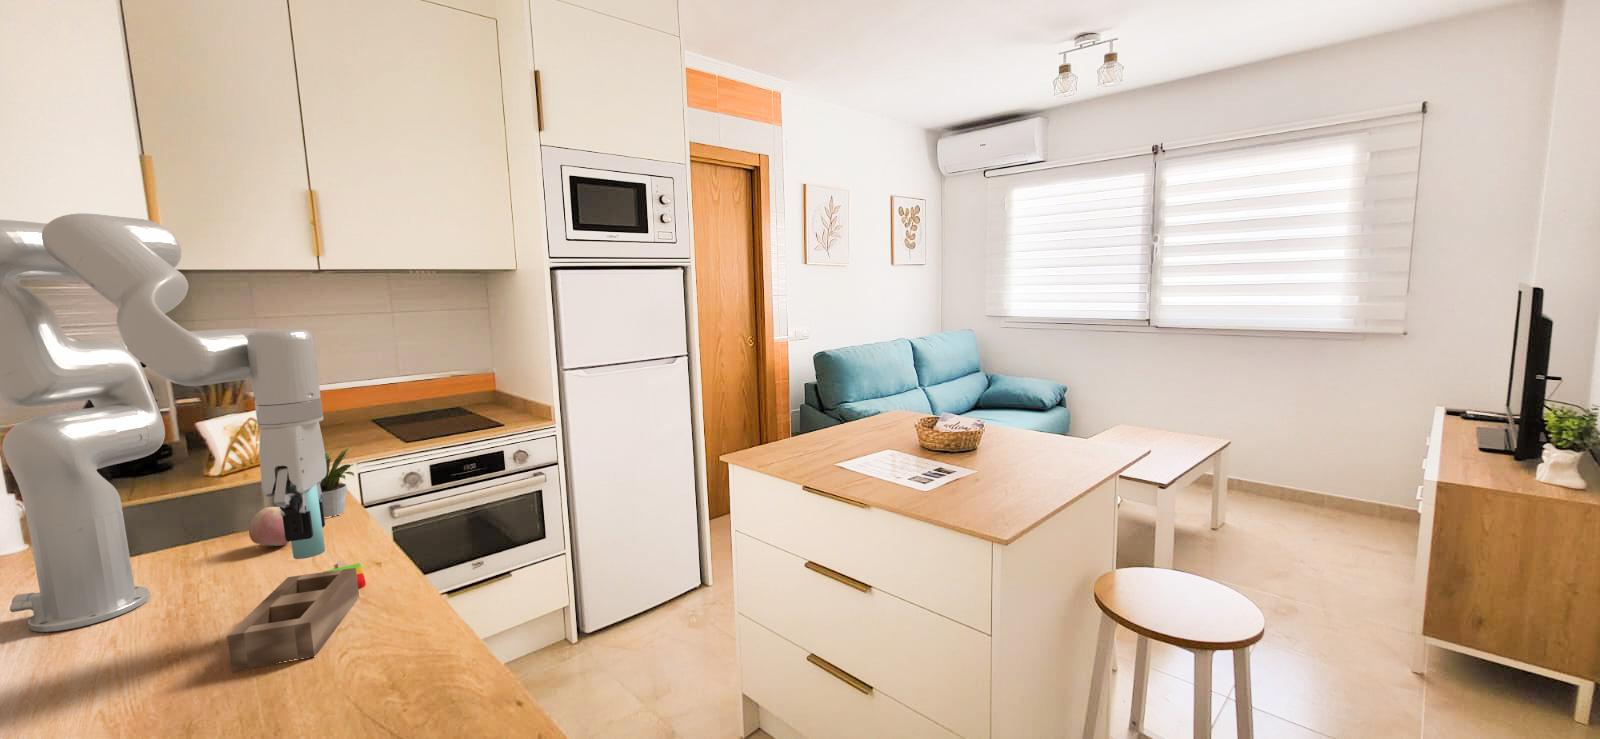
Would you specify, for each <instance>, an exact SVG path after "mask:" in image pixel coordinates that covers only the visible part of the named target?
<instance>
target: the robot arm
mask: <svg viewBox="0 0 1600 739" xmlns="http://www.w3.org/2000/svg"><path fill="white" fill-rule="evenodd" d="M181 258H182V248H181V244H180V243H179V240H178V238H177V237H176V236H175V235H174V234H173V232H172V231H170V230H169V229H168V228H167V227H165V226H164V225H162V224H160V223H158V222H155V221H152V220H148V219H144V218H137V217H126V216H125V217H124V216H119V215H118V216H115V215H108V214H106V215H105V214H98V213H97V214H96V213H70V214H69V213H68V214H66V215H60V216H59V217H56V218H54V219H52V220H51V221H49V222H48V223H44V222H43V223H42V222H34V221H24V220H12V219H0V399H1V400H3V401H4V402H5V403H7V404H9V405H10V406H11V405H12V406H15V407H22V408H35V407H43V406H44V407H45V406H47V407H48V406H53V405H60V404H68V403H74V402H75V403H76V402H81V401H84V402H85V401H90V402H91V403H92V405H93V407H89V408H79V409H72V410H67V411H60V412H54V413H53V412H52V413H49V414H44V415H38V416H35V417H31V418H29V419H26V420H24V421H22V422H19V423H18V424H16V425H14V426H13V427H12V428H10V430H8V431H7V433H6V434H5V436H4V438H3V441H2V452H3V457H4V458H5V459H4V460H5V461H6V463H7V465H8V467H9V469H10V471H11V473H12V475H13V477H14V479H15V482H16V484H17V485H18V486H17V487H18V488H19V491H20V494H21V495H20V496H21V499H22V503H23V507H24V512H25V516H26V518H25V519H26V524H27V527H28V531H29V536H30V542H31V549H32V555H33V560H34V565H35V572H36V578H37V583H38V587H39V592H28V593H21V594H16V595H14V596H13V598H12V599H11V604H10V605H9V611H10V612H11V613H16V612H24V611H26V610H30V611H32V613H33V615H32V616H31V617H30V618H29V619H28V622H27V623H28V628H29V629H30V630H31V631H34V632H41V633H45V632H46V633H50V632H59V631H60V632H61V631H65V630H72V629H77V628H81V627H85V626H89V625H94V624H96V623H100V622H104V621H106V620H110V619H113V618H115V617H119V616H120V615H123V614H124V615H125V614H126V613H128V612H130V611H132V610H134V609H137V608H139V607H140V606H142V605H143V604H145V603H146V602H147V601H148V600H149V599H150V597H151V593H150V589H149V588H148V587H145V586H140V585H139V586H138V585H135V582H134V576H133V569H132V561H131V555H130V550H129V545H128V538H127V533H126V532H127V530H126V525H125V519H124V513H123V512H124V511H123V508H122V501H121V497H120V493H119V491H118V490H117V489H116V488H115V486H114V485H113V484H112V483H111V482H109V481H108V480H107V479H106V478H105V477H103V476H102V475H101V474H100V473H99V472H98V471H97V470H99V469H102V468H106V467H109V466H114V465H117V464H123V463H126V462H132V461H134V460H135V461H136V460H138V459H142V458H145V457H147V456H150V455H152V454H155V452H157V451H158V450H159V449H160V448H161V447H162V445H163V444H164V440H165V438H166V429H165V423H164V420H163V417H162V414H161V411H160V408H159V407H158V403H157V401H156V399H155V396H154V393H153V390H152V387H151V385H150V383H149V380H148V377H147V376H146V372H145V370H144V368H143V366H142V364H143V365H144V366H146V367H147V368H149V369H150V370H151V371H153V372H154V373H155V374H157V375H158V376H160V377H161V378H164V379H165V380H166V381H169V382H172V384H176V385H177V384H178V385H181V386H184V387H185V386H186V387H199V386H207V385H214V384H220V383H221V384H222V383H227V382H237V381H245V380H251V388H252V393H253V401H254V408H255V415H256V423H257V428H258V429H260V431H259V432H260V433H259V449H258V450H259V466H260V467H259V468H260V477H261V478H260V479H261V480H260V481H261V490H262V494H263V496H264V497H266V498H270V497H273V496H274V497H273V503H274V505H276V507H280V511H281V515H282V517H283V524H284V532H285V539H286V541H289V542H291V541H296V540H303V539H310V538H311V537H312V536H313V529H312V521H311V514H310V511H307V503H306V491H307V490H308V489H310V488H311V487H312V486H314V485H315V484H317V491H318V499H319V501H322V492H321V485H322V484H321V481H322V479H324V478H325V476H326V474H327V465H326V456H325V450H326V448H325V449H324V446H325V444H324V440H323V434H322V431H321V430H322V429H321V426H320V422H322V421H323V420H324V411H323V405H322V398H321V391H320V390H321V389H320V382H319V381H320V380H319V374H318V367H317V366H318V365H317V357H316V349H315V341H314V337H313V335H312V334H311V332H310V331H309V330H307V329H304V328H275V329H272V328H271V329H262V328H254V327H253V328H252V327H248V328H247V327H246V328H244V327H242V328H229V329H228V328H224V329H223V328H219V329H207V330H202V329H201V330H191V331H190V330H187V329H186V328H184V327H183V326H181V325H179V324H178V323H177V322H176V321H174V320H173V319H171V318H170V317H169V316H168V315H166V314H167V313H169V312H170V311H172V310H174V309H175V308H176V307H178V305H179V304H181V302H182V301H183V300H185V298H186V296H187V294H188V290H189V282H188V280H187V278H186V276H185V275H184V274H183V273H182V272H180V271H179V270H178V269H176V267H177V266H178V264H179V263H180V261H181ZM21 280H37V281H39V280H40V281H83V283H84V284H86V285H88V286H89V287H90V288H91V289H93V290H94V291H96V293H98V294H99V295H101V296H102V297H103V298H104V299H106V300H107V301H108V302H109V303H111V304H112V305H114V306H115V307H116V308H118V309H117V313H116V327H117V331H118V335H119V337H120V339H121V341H122V343H123V344H121V343H119V342H116V341H114V340H113V341H112V340H109V339H97V338H96V339H83V340H81V339H79V340H77V339H76V340H71V339H70V338H68V337H67V335H66V334H65V332H64V330H63V328H62V326H61V323H60V320H59V318H58V315H57V313H56V312H55V310H54V309H53V308H52V307H51V306H50V305H49V304H48V303H47V302H46V301H45V300H44V299H43V298H42V297H40V296H39V295H38V294H36V293H35V292H33V291H32V290H30V289H29V288H28V287H25V286H23V285H22V284H21V283H20V281H21ZM292 488H297V489H296V491H297V492H290V493H289V490H290V489H292ZM297 496H298V500H299V503H298V501H297V500H296V499H291V497H297ZM319 506H320V514H321V522H322V529H323V528H324V527H325V525H326V519H324V511H323V504H322V502H319Z"/></svg>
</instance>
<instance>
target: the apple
mask: <svg viewBox="0 0 1600 739" xmlns="http://www.w3.org/2000/svg"><path fill="white" fill-rule="evenodd" d="M249 522H250V523H249V527H248V537H249V538H250V540H251V541H252V543H254V544H257V545H262V546H269V547H281V546H284V545H288V543H289V542H290V541H286V539H285V532H284V524H283V517H282V515H281V511H280V507H279V506H268V507H264V508H262V509H260V510H259V511H257V512H256V513H255V514H254V516H253V517H251V520H250V521H249Z"/></svg>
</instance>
